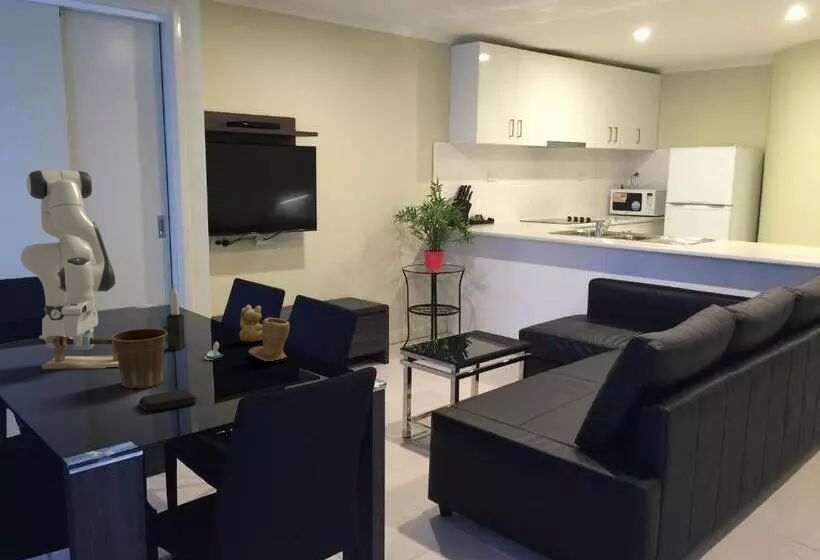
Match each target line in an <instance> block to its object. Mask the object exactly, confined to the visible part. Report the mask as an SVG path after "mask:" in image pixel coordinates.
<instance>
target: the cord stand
mask: <svg viewBox="0 0 820 560" xmlns="http://www.w3.org/2000/svg"><path fill="white" fill-rule="evenodd" d="M89 340H90V344H94V345H111V346H112V355H78V356H77V355H76V356H74V355H71V356H69V355H68V356H66V353H65V347H70V345H73V346H74V343H73V339H70V338H69V337H64V336H49V337H47V338H46V341H45V347H46V349H53V350H54V358H52V359H51V360H49V361H47V362H45V363H43V364H42V365H41V369H42V370H59V369H60V370H64V369H67V370H68V369H69V370H71V369H107V368H106V367H119V363H118V357H117V352H116V350H115V346H114V342H113V340H112V339H111V338H110V337H108V338H100V337H99V338H94V339H89Z"/></svg>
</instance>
